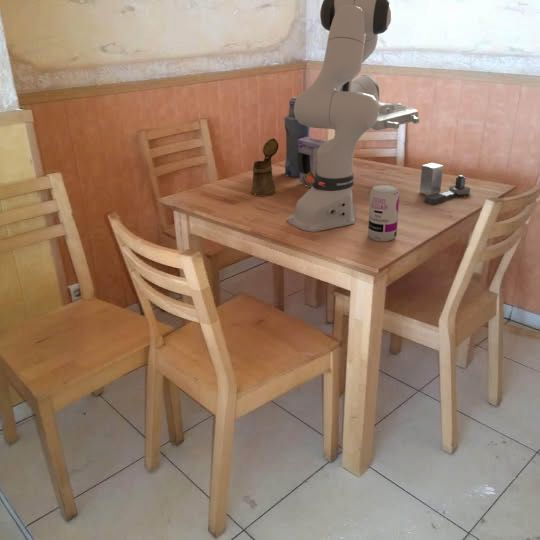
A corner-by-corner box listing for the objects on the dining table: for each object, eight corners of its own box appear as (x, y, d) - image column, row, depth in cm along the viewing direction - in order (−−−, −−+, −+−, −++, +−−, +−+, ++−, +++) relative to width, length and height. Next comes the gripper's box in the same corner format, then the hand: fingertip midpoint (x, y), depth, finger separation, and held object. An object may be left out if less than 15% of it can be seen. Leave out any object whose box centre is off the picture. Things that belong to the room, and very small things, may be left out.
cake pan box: (297, 183, 213) (296, 137, 205) (307, 181, 216) (307, 135, 208) (327, 196, 199) (328, 147, 191) (339, 193, 201) (340, 144, 193)
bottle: (283, 172, 227) (281, 96, 214) (306, 170, 229) (306, 94, 215) (288, 178, 219) (286, 100, 206) (312, 176, 220) (312, 98, 207)
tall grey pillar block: (430, 196, 195) (433, 168, 190) (419, 192, 199) (422, 165, 194) (440, 193, 197) (443, 165, 193) (429, 189, 201) (431, 162, 197)
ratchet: (457, 189, 200) (459, 171, 198) (473, 194, 195) (476, 176, 192) (420, 200, 191) (422, 182, 188) (436, 205, 186) (438, 187, 183)
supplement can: (394, 231, 167) (398, 183, 161) (397, 242, 160) (401, 192, 153) (367, 231, 168) (369, 183, 162) (368, 242, 161) (371, 192, 154)
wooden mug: (285, 186, 210) (284, 139, 202) (267, 197, 199) (266, 147, 191) (265, 183, 214) (263, 137, 206) (246, 194, 204) (244, 145, 196)
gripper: (360, 112, 202) (385, 120, 192) (402, 102, 211) (429, 109, 200) (359, 129, 205) (384, 138, 195) (401, 118, 214) (427, 126, 204)
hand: (407, 123), depth 198 cm, fingers open, 8 cm apart
